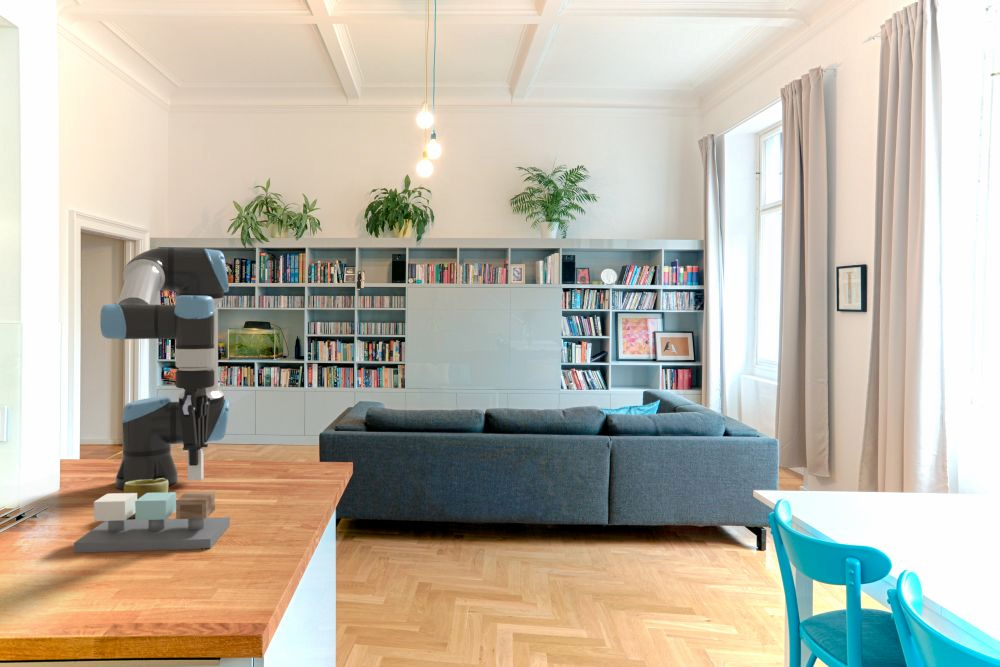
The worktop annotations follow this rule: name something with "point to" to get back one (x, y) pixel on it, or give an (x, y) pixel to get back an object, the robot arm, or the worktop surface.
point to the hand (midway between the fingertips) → (195, 479)
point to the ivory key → (115, 507)
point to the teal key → (155, 506)
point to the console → (153, 535)
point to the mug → (146, 487)
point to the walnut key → (195, 505)
